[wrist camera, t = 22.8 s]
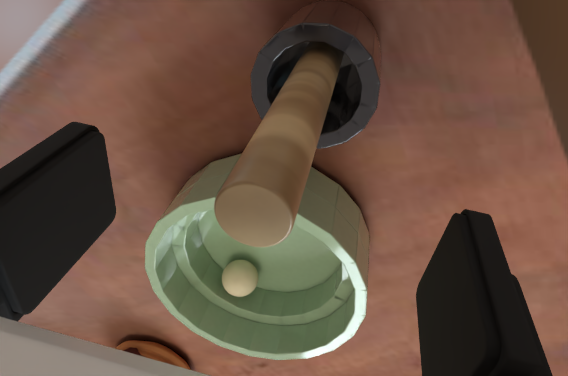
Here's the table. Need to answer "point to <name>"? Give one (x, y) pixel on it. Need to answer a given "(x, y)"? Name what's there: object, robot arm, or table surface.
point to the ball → (240, 278)
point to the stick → (280, 154)
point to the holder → (352, 74)
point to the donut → (153, 352)
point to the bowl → (264, 271)
